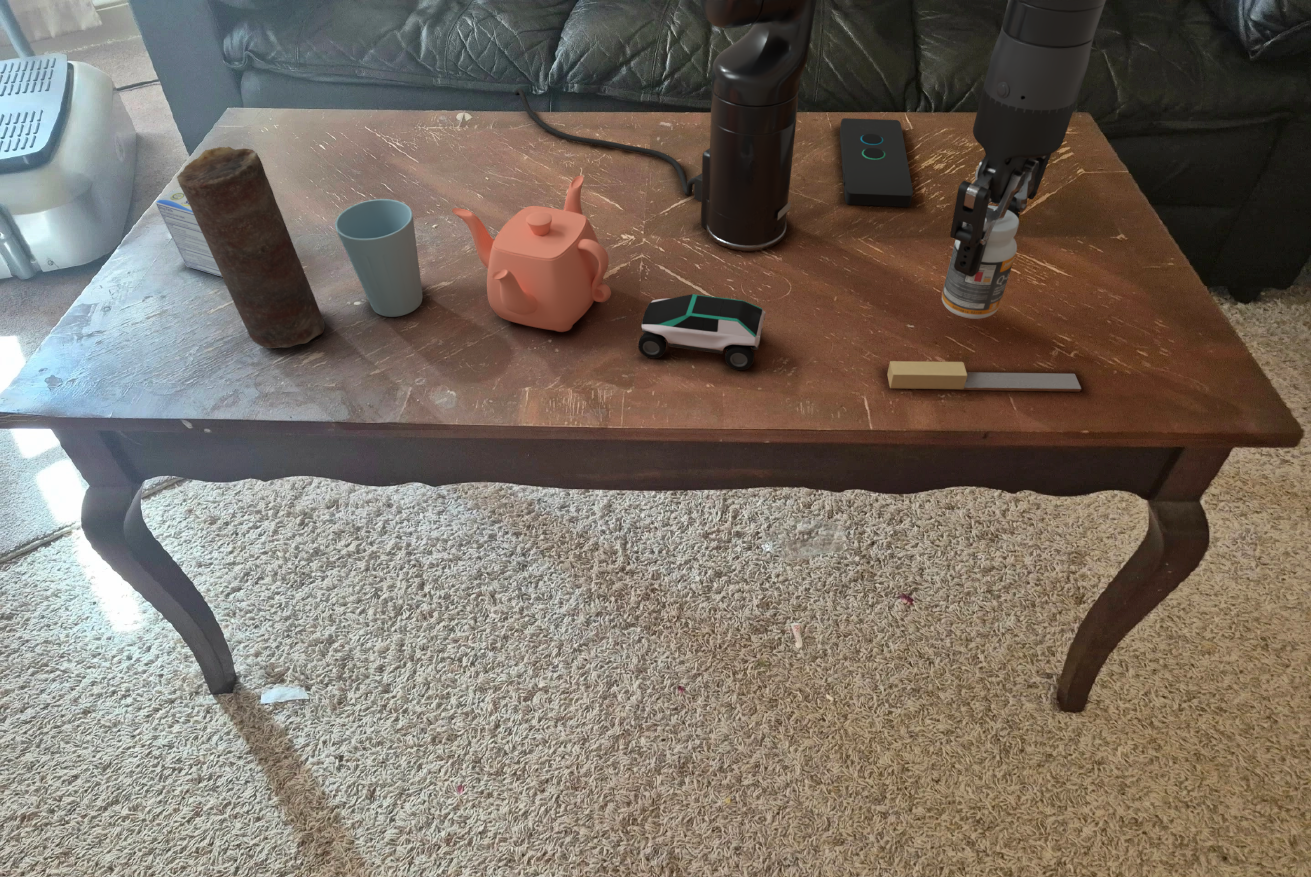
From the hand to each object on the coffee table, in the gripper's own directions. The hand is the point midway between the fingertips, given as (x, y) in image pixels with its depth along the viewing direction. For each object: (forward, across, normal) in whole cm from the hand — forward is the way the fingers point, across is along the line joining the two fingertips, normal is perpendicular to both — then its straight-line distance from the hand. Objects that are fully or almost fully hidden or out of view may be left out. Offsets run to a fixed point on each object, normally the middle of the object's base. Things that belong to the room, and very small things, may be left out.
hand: (982, 257), depth 85 cm
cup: (+9, -37, +48) cm, 61 cm away
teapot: (+9, -27, +36) cm, 46 cm away
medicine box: (+9, -46, +69) cm, 83 cm away
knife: (+9, -6, -6) cm, 12 cm away
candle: (+9, -48, +52) cm, 71 cm away
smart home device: (+9, +22, +25) cm, 35 cm away
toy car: (+9, -20, +18) cm, 29 cm away
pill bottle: (+6, 0, 0) cm, 6 cm away
